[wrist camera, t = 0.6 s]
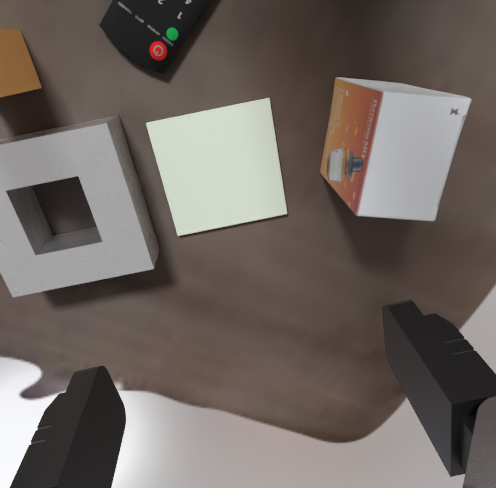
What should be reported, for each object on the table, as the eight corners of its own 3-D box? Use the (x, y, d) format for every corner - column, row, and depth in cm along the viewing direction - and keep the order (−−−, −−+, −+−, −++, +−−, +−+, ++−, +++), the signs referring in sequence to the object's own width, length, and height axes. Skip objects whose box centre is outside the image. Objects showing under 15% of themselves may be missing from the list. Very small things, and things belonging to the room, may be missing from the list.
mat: (146, 122, 33) (146, 123, 33) (268, 97, 33) (269, 98, 33) (178, 234, 38) (177, 235, 37) (286, 212, 38) (287, 214, 37)
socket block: (-29, 145, 33) (-59, 156, 30) (118, 114, 33) (106, 122, 29) (31, 273, 38) (13, 297, 35) (159, 248, 38) (154, 269, 35)
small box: (334, 75, 33) (383, 86, 24) (401, 82, 34) (475, 95, 24) (317, 174, 36) (354, 218, 27) (379, 178, 37) (436, 223, 27)
